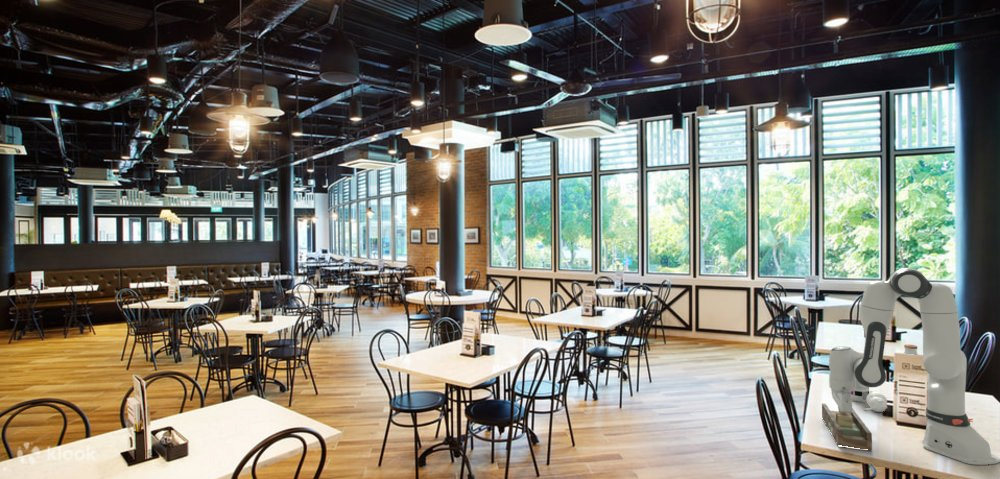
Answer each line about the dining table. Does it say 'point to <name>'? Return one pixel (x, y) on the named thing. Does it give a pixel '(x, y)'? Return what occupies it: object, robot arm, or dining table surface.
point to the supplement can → (859, 392)
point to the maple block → (844, 419)
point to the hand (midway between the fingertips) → (842, 416)
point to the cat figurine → (876, 402)
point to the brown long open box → (848, 430)
